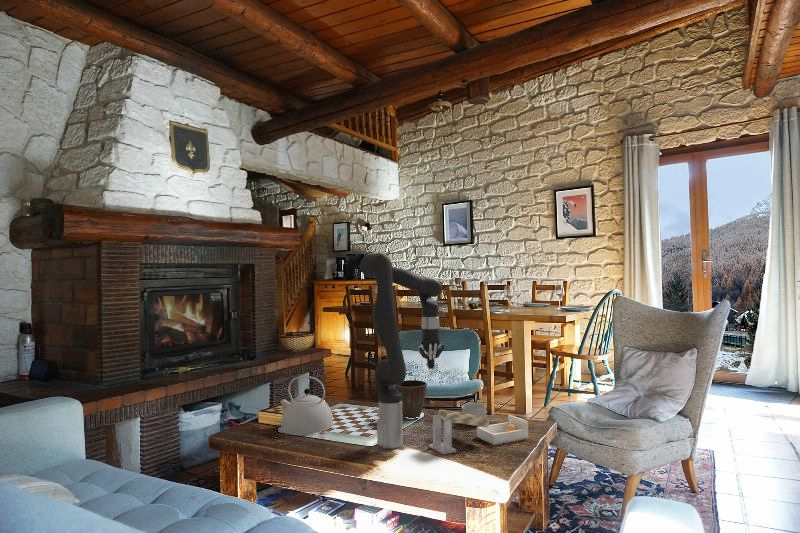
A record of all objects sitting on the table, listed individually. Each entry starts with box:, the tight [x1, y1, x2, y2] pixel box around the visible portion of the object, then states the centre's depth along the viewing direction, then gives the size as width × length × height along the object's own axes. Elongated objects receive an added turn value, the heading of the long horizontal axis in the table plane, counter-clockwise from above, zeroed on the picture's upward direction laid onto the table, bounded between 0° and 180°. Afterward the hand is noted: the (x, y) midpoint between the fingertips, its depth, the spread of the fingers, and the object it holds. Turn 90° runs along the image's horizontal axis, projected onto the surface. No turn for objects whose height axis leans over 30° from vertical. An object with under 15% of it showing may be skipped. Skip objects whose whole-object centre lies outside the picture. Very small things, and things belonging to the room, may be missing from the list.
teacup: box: [461, 401, 487, 419], centre depth 233 cm, size 14×11×8 cm
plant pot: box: [395, 379, 428, 418], centre depth 242 cm, size 15×15×16 cm
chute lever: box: [437, 409, 490, 427], centre depth 207 cm, size 20×15×3 cm
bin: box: [476, 414, 529, 446], centre depth 211 cm, size 17×12×7 cm
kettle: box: [279, 375, 334, 436], centre depth 229 cm, size 25×23×22 cm
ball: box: [506, 424, 516, 432], centre depth 213 cm, size 4×4×4 cm
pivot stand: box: [428, 414, 457, 456], centre depth 198 cm, size 6×10×12 cm, turn 27°
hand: (431, 368), depth 219 cm, fingers closed
